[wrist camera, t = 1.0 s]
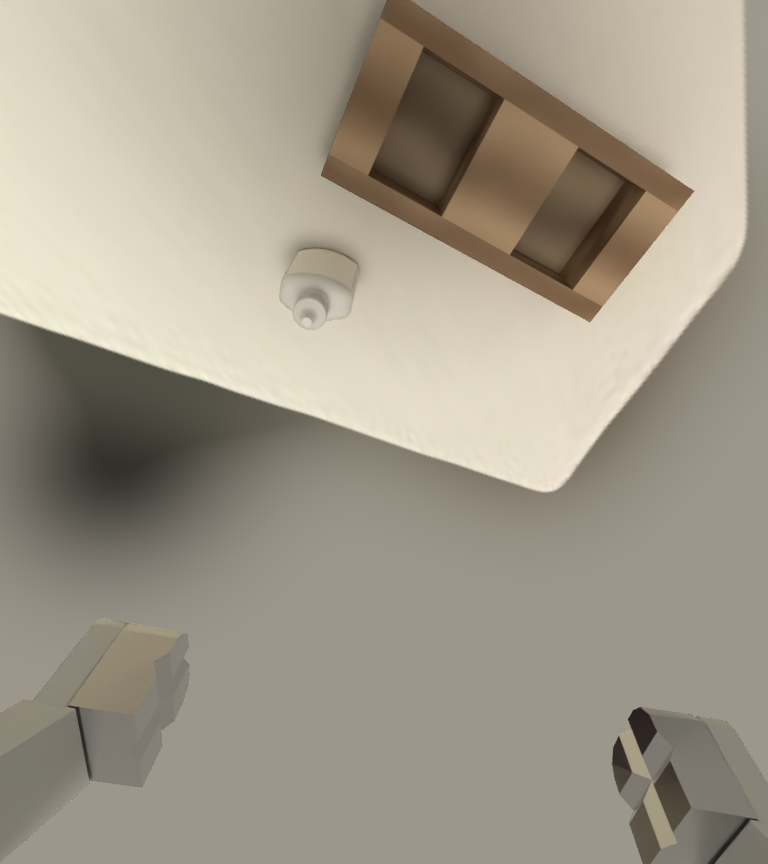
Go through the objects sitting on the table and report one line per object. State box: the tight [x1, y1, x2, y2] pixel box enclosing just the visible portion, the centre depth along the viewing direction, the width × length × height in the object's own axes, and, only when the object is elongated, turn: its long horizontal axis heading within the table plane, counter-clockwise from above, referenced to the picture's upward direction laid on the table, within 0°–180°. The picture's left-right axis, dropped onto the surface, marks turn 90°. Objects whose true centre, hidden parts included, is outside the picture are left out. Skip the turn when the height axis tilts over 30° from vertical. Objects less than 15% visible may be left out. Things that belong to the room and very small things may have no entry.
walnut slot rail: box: [321, 0, 694, 322], centre depth 37 cm, size 11×24×5 cm, turn 63°
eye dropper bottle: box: [280, 248, 359, 330], centre depth 38 cm, size 4×6×12 cm
